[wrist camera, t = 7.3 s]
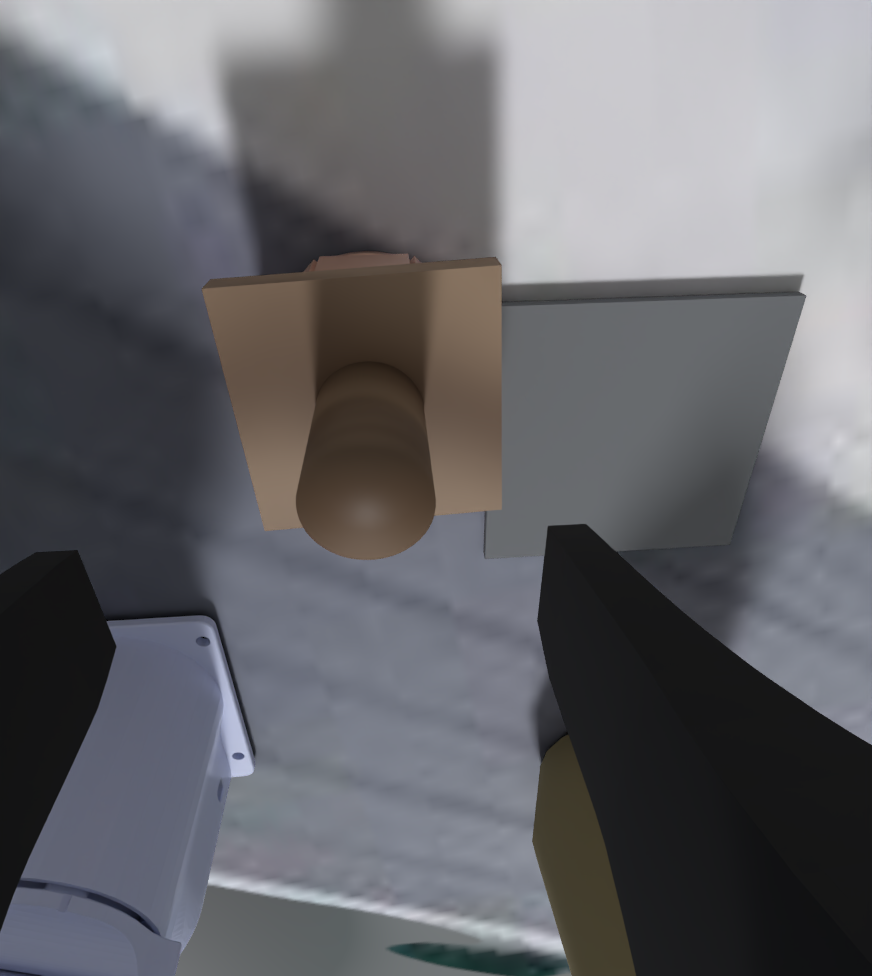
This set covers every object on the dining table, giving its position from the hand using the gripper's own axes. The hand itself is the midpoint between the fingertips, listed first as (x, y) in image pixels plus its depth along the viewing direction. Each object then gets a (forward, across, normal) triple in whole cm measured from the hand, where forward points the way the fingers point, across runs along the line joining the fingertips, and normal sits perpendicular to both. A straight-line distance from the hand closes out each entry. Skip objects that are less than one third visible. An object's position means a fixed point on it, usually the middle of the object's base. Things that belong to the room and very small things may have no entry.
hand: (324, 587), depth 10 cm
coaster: (+10, -9, +3) cm, 13 cm away
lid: (+7, -1, 0) cm, 7 cm away
